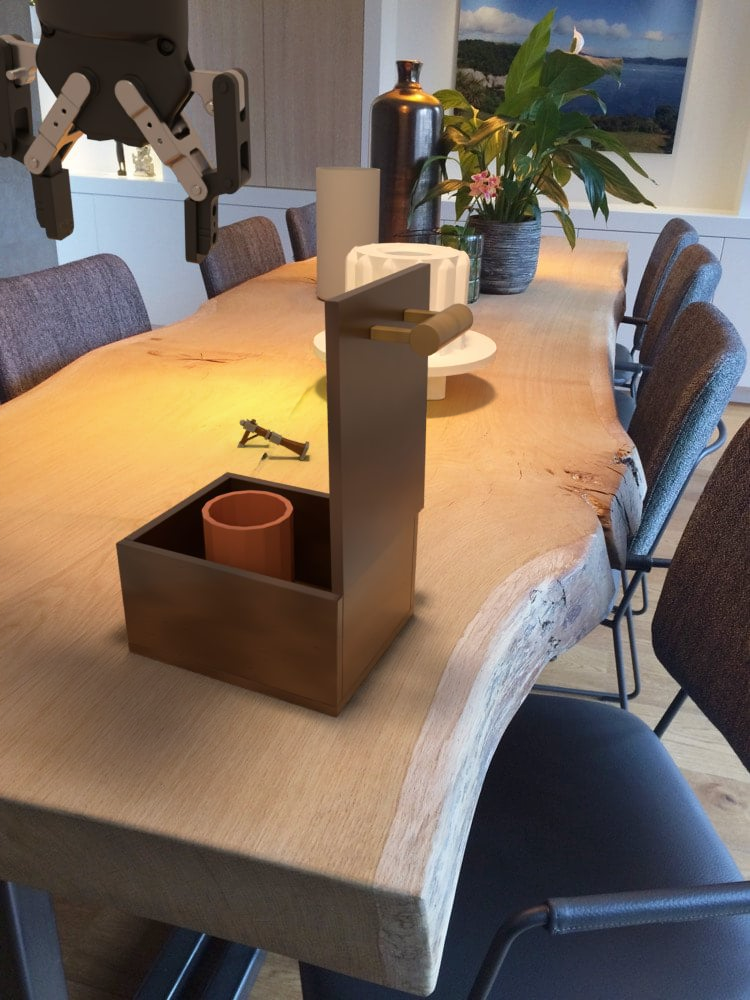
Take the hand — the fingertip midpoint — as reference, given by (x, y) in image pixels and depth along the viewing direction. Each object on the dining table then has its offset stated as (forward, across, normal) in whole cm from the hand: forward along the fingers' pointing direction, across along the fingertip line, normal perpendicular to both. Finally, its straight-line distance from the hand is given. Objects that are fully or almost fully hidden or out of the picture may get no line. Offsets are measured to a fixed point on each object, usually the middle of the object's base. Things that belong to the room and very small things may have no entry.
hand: (128, 247), depth 50 cm
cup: (+26, -9, +2) cm, 28 cm away
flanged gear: (+37, -14, -57) cm, 70 cm away
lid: (+8, -16, +2) cm, 18 cm away
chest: (+26, -11, +3) cm, 29 cm away
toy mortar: (+33, -2, -29) cm, 44 cm away
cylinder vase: (+49, +5, -116) cm, 126 cm away
